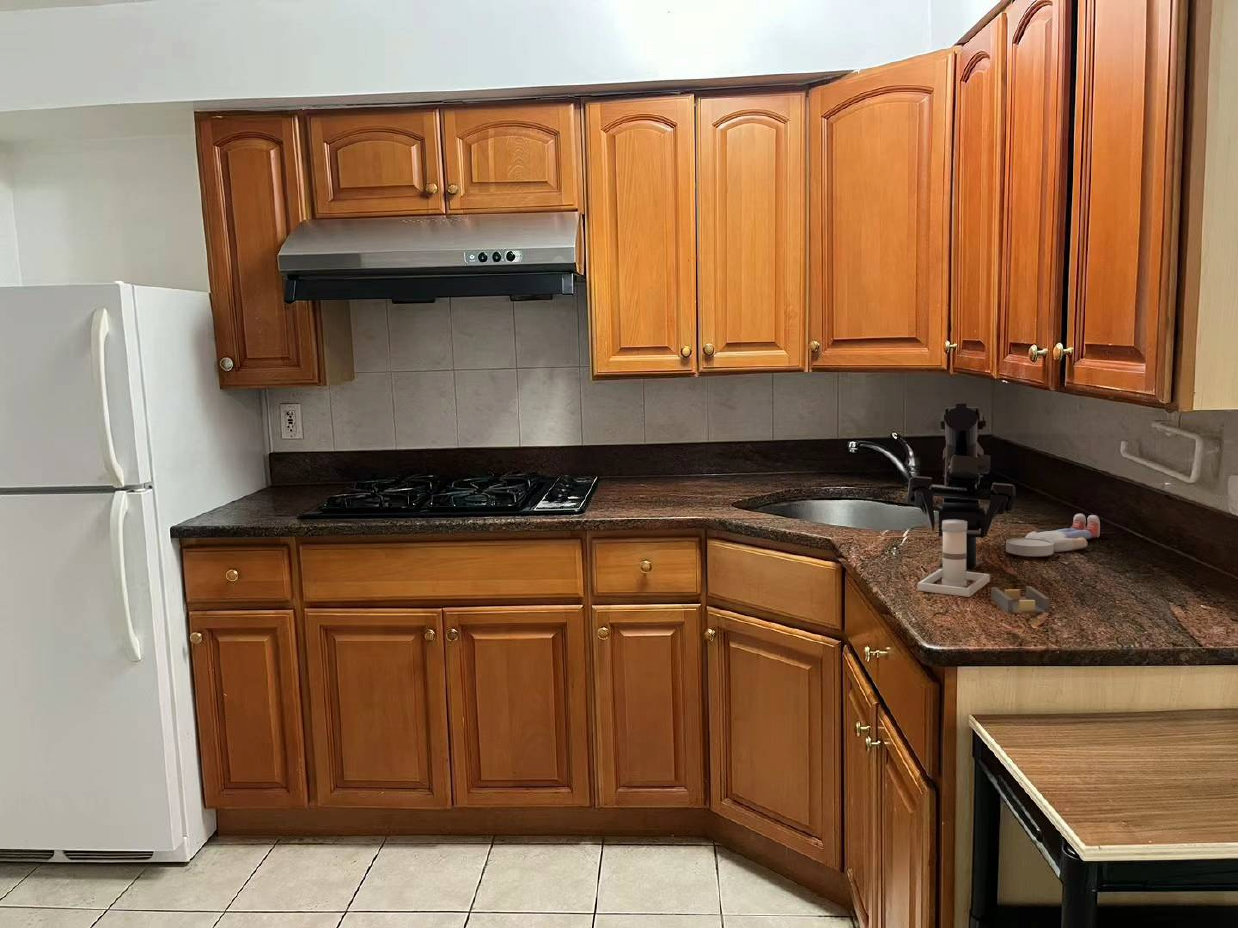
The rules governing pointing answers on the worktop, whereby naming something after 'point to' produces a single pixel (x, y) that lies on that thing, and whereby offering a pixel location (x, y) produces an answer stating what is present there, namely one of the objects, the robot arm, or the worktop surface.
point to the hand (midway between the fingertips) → (959, 532)
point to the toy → (1056, 538)
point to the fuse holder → (1020, 600)
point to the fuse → (954, 553)
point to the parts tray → (960, 591)
